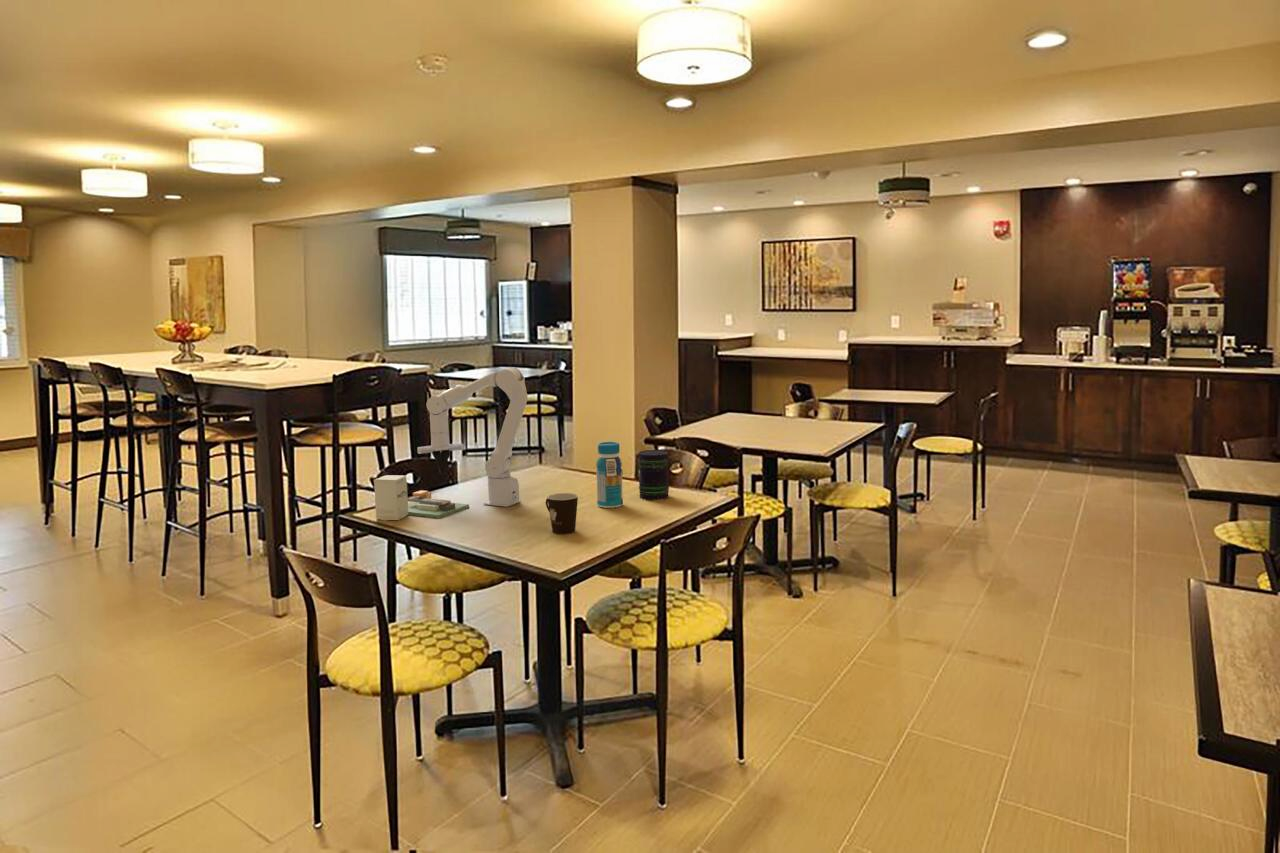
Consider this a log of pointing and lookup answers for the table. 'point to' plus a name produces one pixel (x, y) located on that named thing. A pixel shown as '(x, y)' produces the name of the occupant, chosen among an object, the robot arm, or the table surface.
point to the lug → (422, 494)
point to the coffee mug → (562, 512)
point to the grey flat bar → (429, 500)
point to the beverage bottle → (609, 476)
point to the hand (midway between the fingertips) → (442, 473)
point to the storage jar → (653, 474)
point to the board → (434, 509)
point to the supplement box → (391, 497)
